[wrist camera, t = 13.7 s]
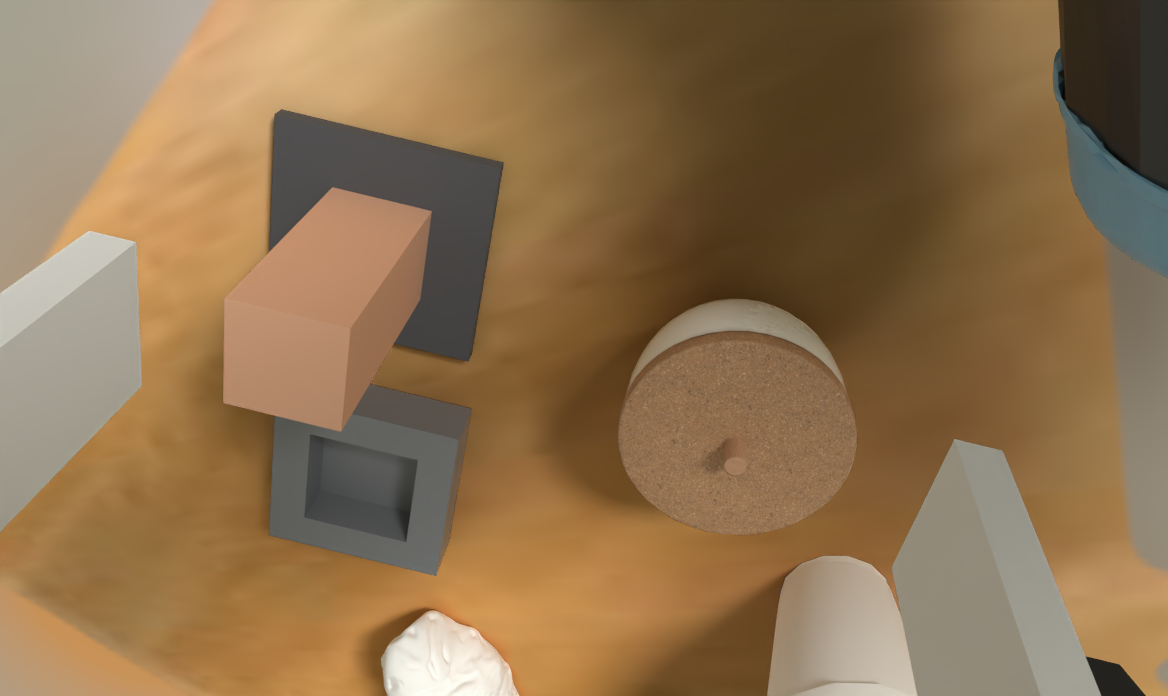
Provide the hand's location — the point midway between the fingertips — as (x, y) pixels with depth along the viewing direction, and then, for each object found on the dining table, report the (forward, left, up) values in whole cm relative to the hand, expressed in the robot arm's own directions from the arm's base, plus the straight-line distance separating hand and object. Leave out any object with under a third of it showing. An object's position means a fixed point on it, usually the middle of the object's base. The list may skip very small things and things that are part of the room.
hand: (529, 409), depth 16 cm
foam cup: (-18, +30, -32) cm, 47 cm away
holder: (+10, +28, -32) cm, 43 cm away
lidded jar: (-8, +16, -32) cm, 37 cm away
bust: (+3, +43, -32) cm, 54 cm away
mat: (+11, +14, -32) cm, 36 cm away
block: (+11, +14, -31) cm, 36 cm away
